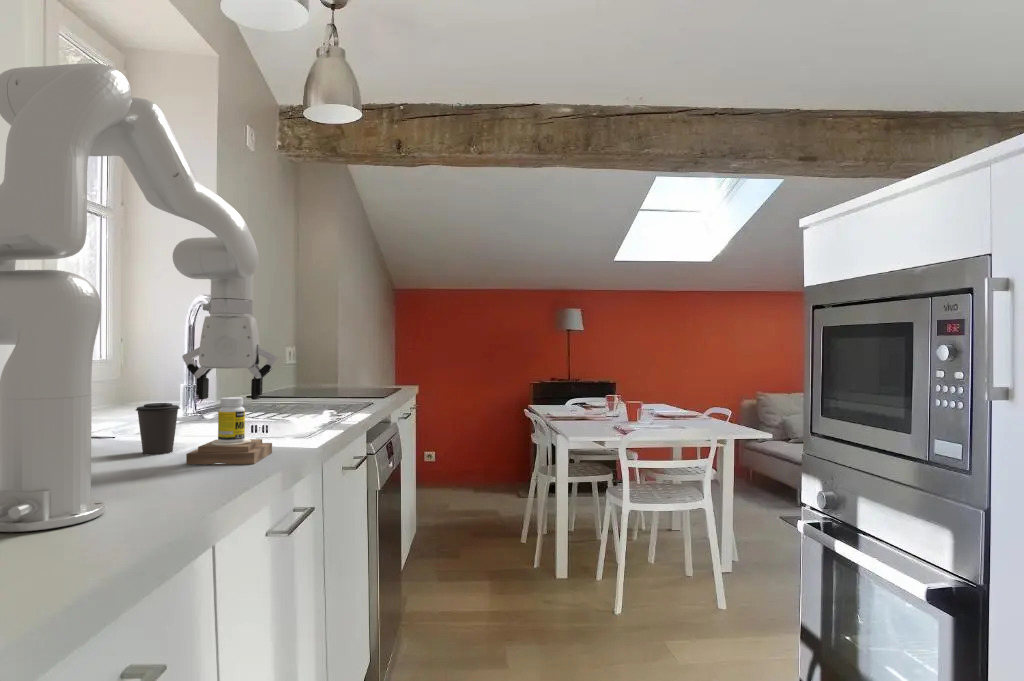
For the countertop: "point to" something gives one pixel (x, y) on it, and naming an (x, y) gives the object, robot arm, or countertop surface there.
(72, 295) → the robot arm
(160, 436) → the coffee cup
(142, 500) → the countertop surface
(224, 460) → the plinth
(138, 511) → the countertop surface
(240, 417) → the supplement bottle
